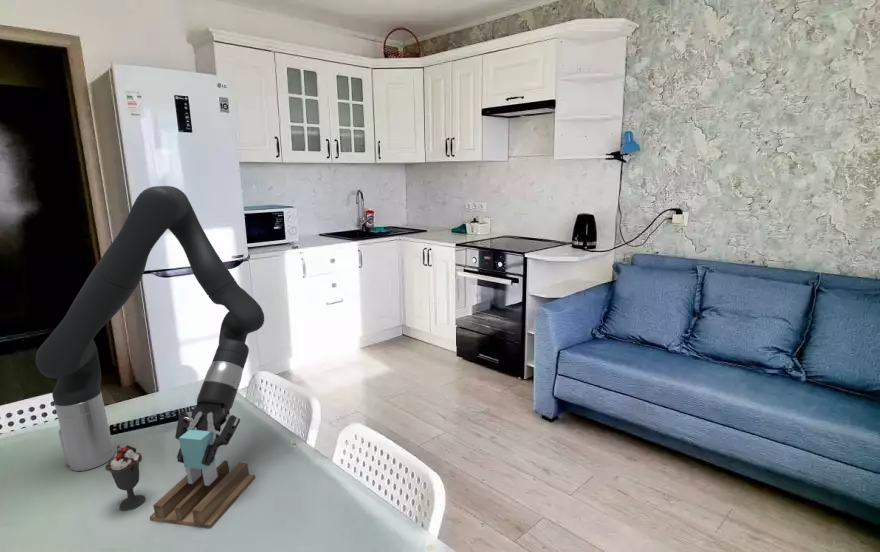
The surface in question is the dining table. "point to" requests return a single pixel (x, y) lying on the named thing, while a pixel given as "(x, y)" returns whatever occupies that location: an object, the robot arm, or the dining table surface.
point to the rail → (203, 497)
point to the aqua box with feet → (197, 456)
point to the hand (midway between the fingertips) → (193, 463)
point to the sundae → (126, 475)
